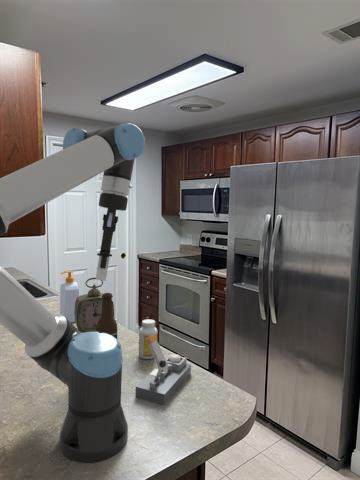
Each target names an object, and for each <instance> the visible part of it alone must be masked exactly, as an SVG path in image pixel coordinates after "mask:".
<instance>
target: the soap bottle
mask: <svg viewBox="0 0 360 480" xmlns="http://www.w3.org/2000/svg"><path fill="white" fill-rule="evenodd" d="M66 273H67V277H65V282H62V283H61V285H60V289H59V290H60V291H59V294H60V295H59V296H60V297H59V299H60V300H59V304H60V306H59V307H60V308H59V310H60V311H59V314H60V315H63V316H64V317H65V318H66V319H67V320H68V321H70V322H71V323H75V315H74V310H75V302H76V299H77V297H78V296H80V289H79V285H78V282H76V281H74V279H75V278H74V277H73V276H72V274H74V272H73V271H71V270H70V271H69V270H67V271H63V272H61V273H60V274H61V275H63V274H66Z"/></svg>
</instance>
